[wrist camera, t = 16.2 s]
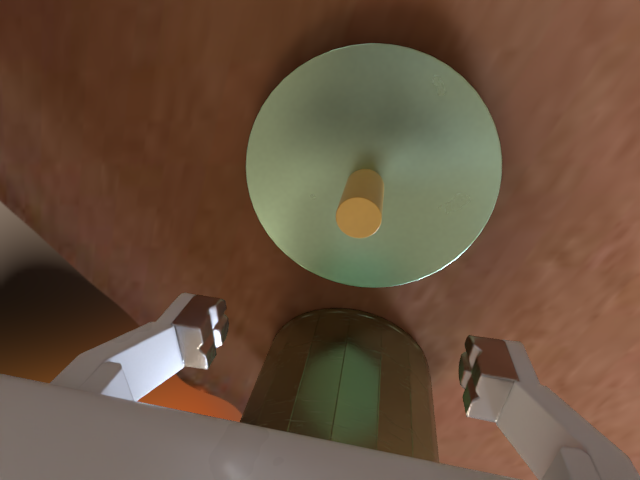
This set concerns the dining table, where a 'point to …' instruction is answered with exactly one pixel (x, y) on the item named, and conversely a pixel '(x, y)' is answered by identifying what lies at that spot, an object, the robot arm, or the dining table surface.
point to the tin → (347, 384)
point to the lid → (374, 165)
